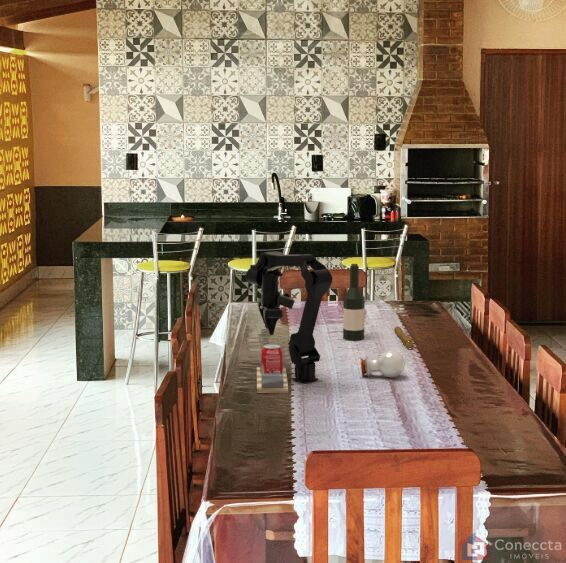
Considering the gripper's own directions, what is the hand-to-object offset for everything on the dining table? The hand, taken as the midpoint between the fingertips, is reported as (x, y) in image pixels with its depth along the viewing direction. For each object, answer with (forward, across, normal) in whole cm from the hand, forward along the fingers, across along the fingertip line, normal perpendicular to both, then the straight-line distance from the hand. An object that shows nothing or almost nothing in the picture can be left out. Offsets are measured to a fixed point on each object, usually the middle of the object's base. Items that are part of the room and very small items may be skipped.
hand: (269, 331), depth 346 cm
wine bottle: (+14, +40, -40) cm, 59 cm away
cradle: (+13, -16, +2) cm, 21 cm away
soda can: (+12, -22, +2) cm, 25 cm away
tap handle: (+14, +34, -59) cm, 69 cm away
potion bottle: (+13, -17, -36) cm, 42 cm away
